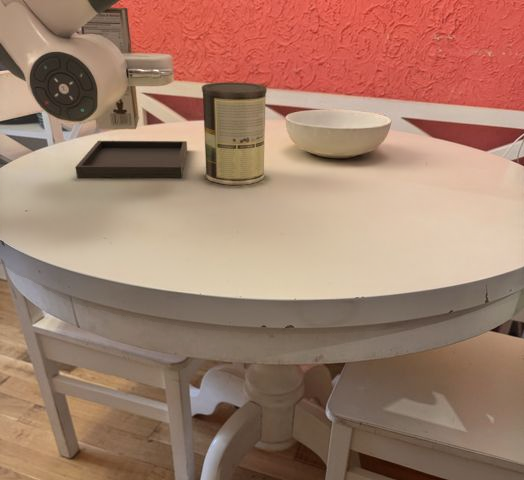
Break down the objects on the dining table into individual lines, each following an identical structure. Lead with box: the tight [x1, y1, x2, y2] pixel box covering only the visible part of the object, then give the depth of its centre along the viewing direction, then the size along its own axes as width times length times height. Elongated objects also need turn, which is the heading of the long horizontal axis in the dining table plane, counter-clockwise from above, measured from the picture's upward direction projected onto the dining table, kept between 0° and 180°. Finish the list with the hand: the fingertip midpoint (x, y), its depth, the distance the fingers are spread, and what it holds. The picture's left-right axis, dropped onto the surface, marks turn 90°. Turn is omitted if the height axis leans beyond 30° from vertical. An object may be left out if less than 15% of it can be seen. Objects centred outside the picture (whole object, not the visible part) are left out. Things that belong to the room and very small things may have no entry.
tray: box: [75, 140, 188, 179], centre depth 93 cm, size 18×20×2 cm
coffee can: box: [201, 81, 268, 186], centre depth 83 cm, size 10×10×14 cm
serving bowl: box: [285, 109, 392, 159], centre depth 101 cm, size 21×21×7 cm
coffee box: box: [80, 6, 140, 130], centre depth 78 cm, size 9×6×16 cm
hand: (111, 63), depth 79 cm, fingers closed on coffee box, 6 cm apart
